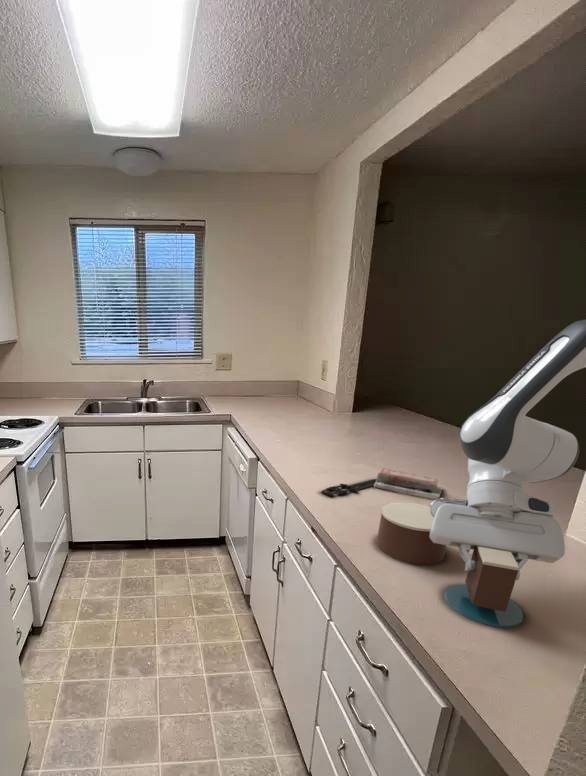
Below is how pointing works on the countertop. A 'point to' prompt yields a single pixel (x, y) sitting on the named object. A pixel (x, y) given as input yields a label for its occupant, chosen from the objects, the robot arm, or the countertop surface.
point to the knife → (348, 488)
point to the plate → (482, 609)
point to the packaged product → (408, 484)
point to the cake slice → (492, 578)
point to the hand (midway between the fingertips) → (491, 575)
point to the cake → (408, 534)
